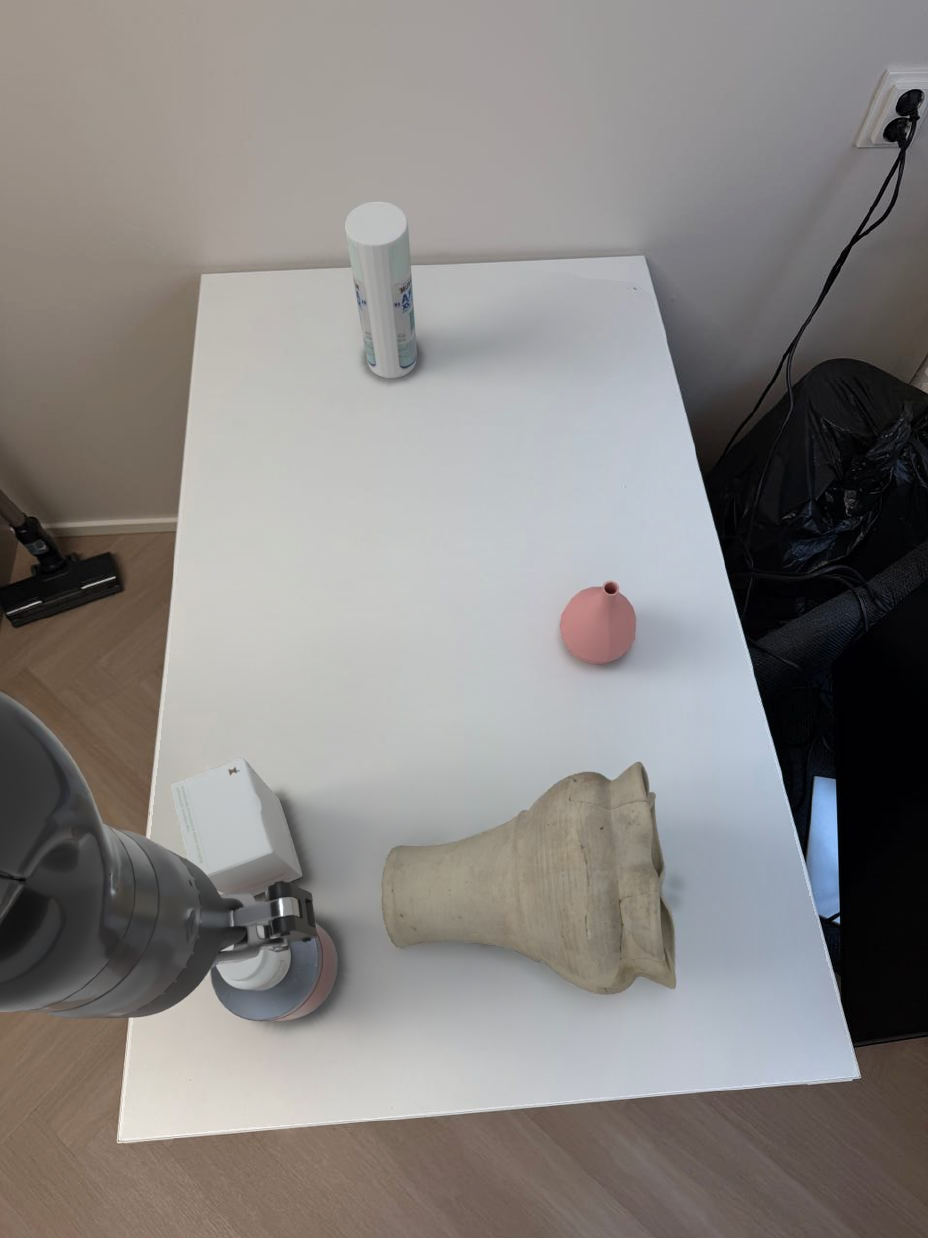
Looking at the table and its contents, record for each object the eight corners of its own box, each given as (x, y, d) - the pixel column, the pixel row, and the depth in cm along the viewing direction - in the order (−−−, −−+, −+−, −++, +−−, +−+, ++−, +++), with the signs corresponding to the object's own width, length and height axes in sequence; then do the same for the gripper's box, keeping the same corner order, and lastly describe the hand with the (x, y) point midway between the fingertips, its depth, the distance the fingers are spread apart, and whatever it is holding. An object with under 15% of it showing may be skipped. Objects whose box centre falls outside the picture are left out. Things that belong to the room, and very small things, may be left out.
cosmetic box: (217, 820, 80) (164, 780, 66) (284, 795, 81) (245, 751, 67) (239, 906, 77) (188, 883, 63) (308, 879, 78) (274, 850, 64)
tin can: (248, 1030, 73) (213, 1033, 63) (238, 928, 76) (204, 916, 66) (345, 1008, 74) (326, 1007, 64) (331, 908, 77) (311, 892, 67)
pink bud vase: (611, 598, 90) (631, 542, 80) (642, 660, 87) (667, 610, 76) (545, 620, 89) (556, 566, 78) (573, 684, 86) (588, 637, 75)
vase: (298, 1045, 61) (696, 1038, 55) (295, 745, 67) (655, 709, 61) (394, 993, 81) (692, 984, 75) (385, 767, 87) (661, 742, 81)
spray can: (370, 337, 106) (349, 198, 88) (421, 341, 106) (411, 202, 88) (362, 377, 103) (339, 242, 85) (415, 381, 103) (403, 247, 85)
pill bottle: (230, 938, 66) (202, 930, 59) (286, 923, 66) (264, 912, 59) (239, 998, 64) (211, 996, 57) (296, 981, 64) (275, 978, 57)
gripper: (264, 806, 39) (319, 862, 54) (-51, 872, 38) (93, 911, 53) (284, 978, 36) (336, 987, 51) (-59, 1056, 35) (96, 1042, 49)
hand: (212, 948), depth 52 cm, fingers open, 8 cm apart
